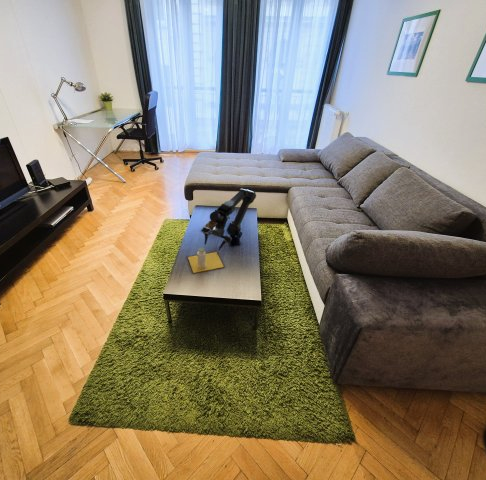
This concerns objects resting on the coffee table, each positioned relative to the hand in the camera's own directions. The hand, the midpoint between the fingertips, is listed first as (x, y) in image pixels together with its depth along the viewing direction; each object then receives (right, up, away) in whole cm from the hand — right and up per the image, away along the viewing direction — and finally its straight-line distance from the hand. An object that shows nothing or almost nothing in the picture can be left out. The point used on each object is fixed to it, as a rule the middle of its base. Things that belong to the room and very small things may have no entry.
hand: (211, 247), depth 162 cm
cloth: (-4, -9, +3) cm, 10 cm away
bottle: (-6, -11, -1) cm, 13 cm away
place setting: (+3, +12, +35) cm, 37 cm away
